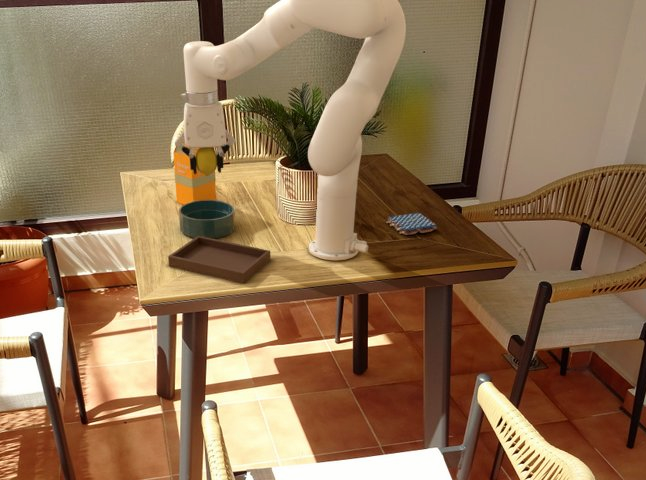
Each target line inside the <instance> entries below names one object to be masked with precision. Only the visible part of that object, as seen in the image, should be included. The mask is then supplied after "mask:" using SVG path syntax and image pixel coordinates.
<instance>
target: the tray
mask: <svg viewBox="0 0 646 480" xmlns="http://www.w3.org/2000/svg"><path fill="white" fill-rule="evenodd" d="M167 259H168V260H167V261H168V267H172V268H175V269H180V270H184V271H189V272H194V273H197V274H202V275H205V276H210V277H215V278H219V279H223V280H227V281H232V282H236V283H240V284H245V283H246V282H247V281H249V279H251V278H252V277H254V275H255V274H257V273H258V272H259V271H260V270H261V269H262V268H264V267H265V266H266V265H267V264H268V263H269V262H270V261H271V250H268V249H265V248H264V249H263V248H260V247H256V246H255V247H254V246H249V245H245V244H240V243H235V242H231V241H226V240H221V239H218V238H215V239H212V238H207V237H202V236H197V237H196V238H193V239H191V240H189V241H188V242H187V243H185V244H184V245H182V246H181V247H179V248H178V249H177V250H175V251H174V252H172V253H170V254H169V255H167Z"/></svg>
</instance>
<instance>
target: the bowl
mask: <svg viewBox="0 0 646 480" xmlns="http://www.w3.org/2000/svg"><path fill="white" fill-rule="evenodd" d="M178 217H179V218H178V219H179V228H180V229H179V230H180V232H181V233H182V234H183V235H186V236H188V237H190V238H193V239H194V238H196V237H197V236H202V237H207V238H212V239H219V238H223V237H226V236H228V235H230V234H231V233H232V232H234V230H235V229H236V209H235V207H234V206H233V205H232V204H231V203H229V202H227V201H222V200H219V199H218V200H217V199H216V200H199V201H193V202H190V203H187V204H184V205H183V204H182V205H181V206H180V207H179V209H178Z"/></svg>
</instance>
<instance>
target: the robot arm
mask: <svg viewBox="0 0 646 480" xmlns="http://www.w3.org/2000/svg"><path fill="white" fill-rule="evenodd" d="M406 23H407V22H406V17H405V13H404V10H403V8H402V5H401V3H400V2H399V0H279V1H277V2H276V3H274V4H273V5H271V6H270V7H268V8H267V9H266V10H265V11H264V13H263V17H262V18H261V20H260V21H259V22H257V23H256V24H255V25H254V26H252V27H251V28H249V29H248V30H246V31H245V32H244V33H242V34H241V35H239V36H238V37H236V38H235V39H232V40H229V41H227V42H225V43H222V44H219V45H214V44H213V43H212V42H210V41H206V40H205V41H203V40H196V41H189V42H187V43H185V44H184V46H183V64H184V74H185V75H184V78H185V79H184V80H185V90H186V91H185V92H184V93H180V100H183V101H185V102H186V103H184V106H183V130H182V132H181V134H180V135H179V136H178V137H177V139H176V140H175V141H174V146H175V147H176V146H177V147H178V148H179V149H180V150H182V151H183V152H184V153H185V154H186V155H187V156H188V157H189V158H190V168H191V170H193V172H194V174H196V173H197V171H196V158H195V155H194V153H195V149H196V148H204V147H212V148H216V151H217V153H216V155H217V167H216V170H217V172H218V173H219V174H221V173H222V169H224V156H225V154H227V152H228V151H229V150H230V148H232V147H233V146H234V145H235V143H236V139H235V137H234V136H233V135H232V134H231V133H230V132H229V131H228V130H227V129H226V122H225V114H224V108H223V105H222V102H220V101H219V91H218V80H221V81H230V80H232V79H235V78H237V77H239V76H240V75H243V74H244V73H247V72H248V71H250V70H251V69H253V68H254V67H256V66H257V65H259V64H260V63H262V62H264V61H265V60H266V59H268V58H269V57H271V56H272V55H274V54H275V53H277V52H278V51H280V50H282V49H285V48H286V47H287V46H289V45H291V44H293V43H294V41H297V40H298V39H299V38H300V37H302V36H304V35H305V34H307V33H308V32H310V31H311V30H314V29H318V30H321V31H325V32H330V33H334V34H337V35H340V36H345V37H348V38H351V39H358V40H359V39H361V40H362V39H364V41H363V44H362V46H361V47H360V50H359V52H358V54H357V56H356V59H355V61H354V64H353V66H352V68H351V71H350V73H349V75H348V77H347V78H346V81H345V82H344V83H343V85H341V86H340V87H339V88H338V89H336V90H335V92H333V93H332V94H331V96H330V97H329V99H328V101H327V102H326V104H325V107H324V109H323V112H322V113H321V116H320V119H319V121H318V123H317V126H316V128H315V130H314V133H313V135H312V137H311V140H310V142H309V145H308V149H307V159H308V160H307V161H308V163H309V166H310V168H311V169H312V171H314V172H315V173H316V174H317V176H318V188H317V209H316V216H315V235H314V240H312V241H310V242H309V245H308V252H309V253H310V254H311V256H314V257H316V258H318V259H321V260H325V261H345V260H349V259H353V258H354V257H356V256H357V255H358V254H359V252H361V253H365V254H366V253H368V251H369V245H368V242H367V241H366V240H359V239H358V233H356V232H354V230H355V217H356V203H357V192H358V179H359V171H360V164H361V157H362V152H363V138H362V132H363V130H364V128H365V126H366V125H367V124H368V123H369V122H370V121H371V120H372V119H373V117H374V116H375V115H376V113H377V110H378V108H379V106H380V103H381V100H382V98H383V96H384V94H385V91H386V89H387V87H388V85H389V83H390V81H391V77H392V75H393V73H394V70H395V68H396V67H397V64H398V62H399V59H400V57H401V55H402V52H403V49H404V44H405V40H406V33H407V24H406ZM184 139H185V144H186V146H187V147H190V148H189V149H188V148H187V147H186V146H184V145H183V144H182V142H183V141H184Z"/></svg>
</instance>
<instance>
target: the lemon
mask: <svg viewBox="0 0 646 480" xmlns="http://www.w3.org/2000/svg"><path fill="white" fill-rule="evenodd" d="M196 166H197V169H198V170H199V171H200V172H201V173H203V174H205V175H206V176H209V175H210V174H211V173H213V172H214V171H215V172H216V170H217V153H216V150H215V149H214V147H212V148H211V147H204V148H199V149H198V151H197V153H196Z"/></svg>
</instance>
